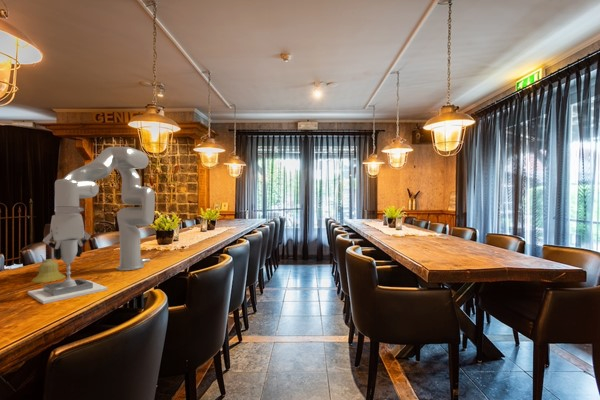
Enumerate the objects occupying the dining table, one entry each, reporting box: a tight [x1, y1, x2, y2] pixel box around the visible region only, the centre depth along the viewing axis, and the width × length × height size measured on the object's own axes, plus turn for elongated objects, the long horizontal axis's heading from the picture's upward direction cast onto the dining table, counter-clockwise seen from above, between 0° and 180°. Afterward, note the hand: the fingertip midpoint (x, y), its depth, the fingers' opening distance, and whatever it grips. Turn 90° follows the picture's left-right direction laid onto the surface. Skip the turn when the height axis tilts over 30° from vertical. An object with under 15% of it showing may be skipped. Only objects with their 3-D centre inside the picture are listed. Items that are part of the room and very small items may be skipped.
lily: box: [35, 256, 46, 275], centre depth 154 cm, size 12×12×10 cm
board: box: [27, 279, 109, 305], centre depth 120 cm, size 20×20×1 cm
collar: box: [42, 278, 93, 296], centre depth 120 cm, size 12×12×2 cm
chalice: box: [59, 239, 79, 288], centre depth 120 cm, size 7×7×18 cm
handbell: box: [30, 223, 67, 284], centre depth 141 cm, size 12×12×25 cm
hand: (68, 257), depth 120 cm, fingers closed on chalice, 5 cm apart
